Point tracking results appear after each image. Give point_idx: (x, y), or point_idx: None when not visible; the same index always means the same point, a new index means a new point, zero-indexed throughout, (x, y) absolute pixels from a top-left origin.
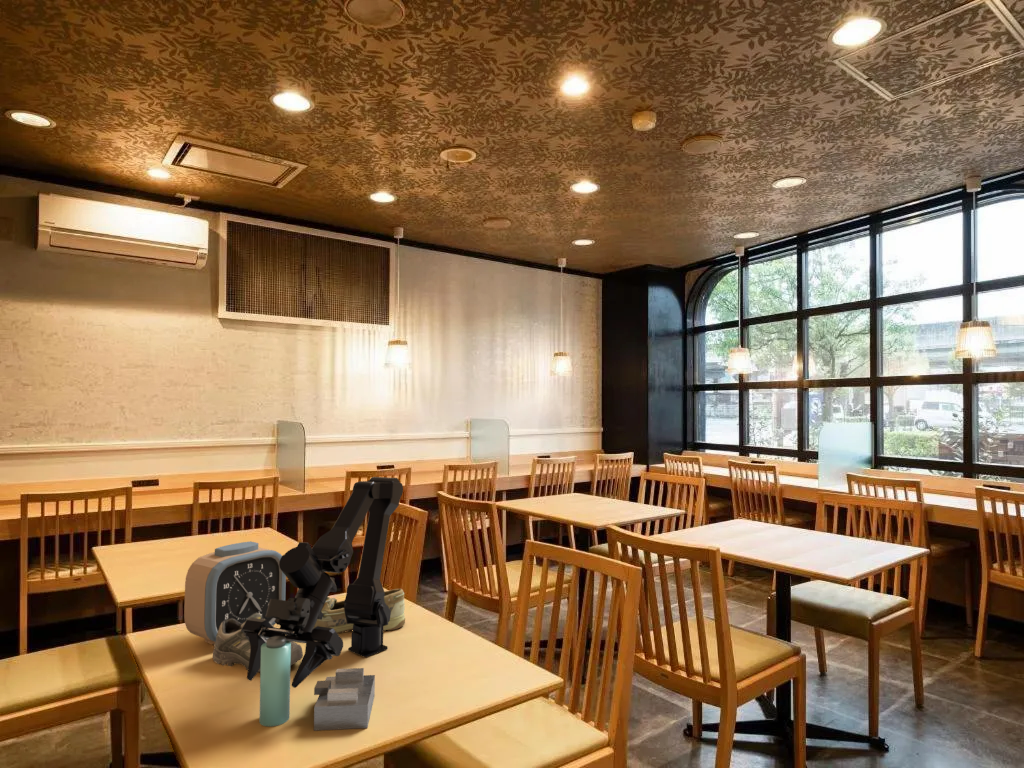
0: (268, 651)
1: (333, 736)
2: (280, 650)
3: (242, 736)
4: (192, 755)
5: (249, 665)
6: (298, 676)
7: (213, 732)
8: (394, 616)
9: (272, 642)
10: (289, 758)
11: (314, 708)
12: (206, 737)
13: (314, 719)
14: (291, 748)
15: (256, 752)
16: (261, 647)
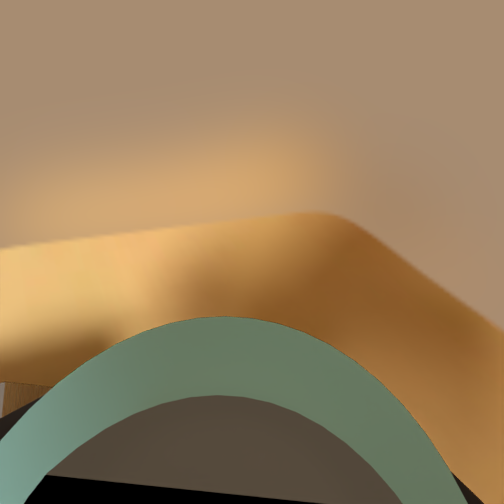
0: (226, 317)
1: None
2: (62, 385)
3: (274, 315)
4: (335, 221)
5: (474, 501)
6: (12, 414)
7: (370, 321)
8: None
9: (202, 419)
10: (100, 240)
11: (9, 382)
12: (367, 294)
13: (37, 386)
14: (108, 280)
15: (194, 251)
16: (397, 407)
